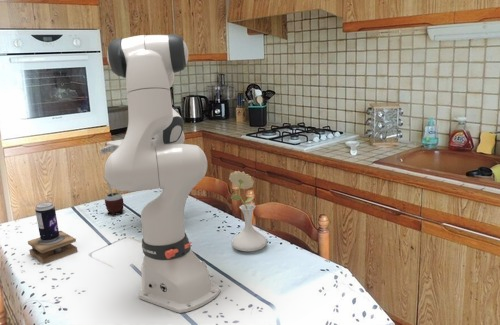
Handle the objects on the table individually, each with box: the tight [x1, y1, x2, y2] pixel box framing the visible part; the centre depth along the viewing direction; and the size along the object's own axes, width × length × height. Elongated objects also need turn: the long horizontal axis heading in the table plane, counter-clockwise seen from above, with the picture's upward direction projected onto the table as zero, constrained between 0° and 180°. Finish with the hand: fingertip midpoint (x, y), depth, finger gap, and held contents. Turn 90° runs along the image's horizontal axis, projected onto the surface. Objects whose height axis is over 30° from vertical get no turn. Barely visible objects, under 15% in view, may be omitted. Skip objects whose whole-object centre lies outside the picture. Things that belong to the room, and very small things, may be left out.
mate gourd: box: [102, 175, 125, 217], centre depth 180 cm, size 8×8×15 cm
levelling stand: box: [27, 230, 79, 265], centre depth 147 cm, size 11×11×5 cm
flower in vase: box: [228, 170, 268, 252], centre depth 143 cm, size 13×11×25 cm
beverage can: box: [34, 201, 60, 242], centre depth 145 cm, size 6×6×12 cm
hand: (108, 153), depth 152 cm, fingers open, 8 cm apart
